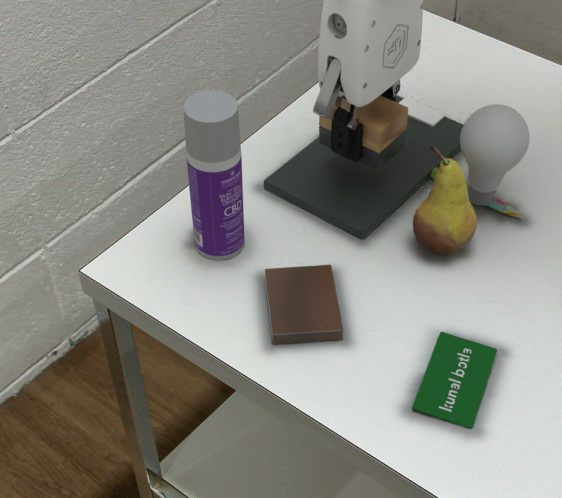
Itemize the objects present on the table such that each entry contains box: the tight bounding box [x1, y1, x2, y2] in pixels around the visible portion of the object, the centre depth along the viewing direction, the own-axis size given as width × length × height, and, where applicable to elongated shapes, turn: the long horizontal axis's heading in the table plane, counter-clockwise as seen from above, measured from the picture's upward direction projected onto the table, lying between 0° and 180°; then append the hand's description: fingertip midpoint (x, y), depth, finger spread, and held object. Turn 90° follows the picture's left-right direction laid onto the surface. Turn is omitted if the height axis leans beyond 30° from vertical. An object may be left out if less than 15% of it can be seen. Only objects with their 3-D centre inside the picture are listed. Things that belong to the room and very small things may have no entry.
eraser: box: [318, 96, 408, 170], centre depth 89 cm, size 4×7×4 cm, turn 51°
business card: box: [411, 331, 498, 429], centre depth 78 cm, size 9×1×5 cm
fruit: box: [412, 146, 478, 255], centre depth 83 cm, size 6×6×12 cm
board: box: [263, 94, 464, 241], centre depth 95 cm, size 20×12×1 cm, turn 141°
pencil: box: [430, 167, 525, 220], centre depth 93 cm, size 1×1×18 cm
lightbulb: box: [460, 103, 530, 206], centre depth 87 cm, size 6×6×11 cm
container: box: [182, 89, 246, 261], centre depth 82 cm, size 5×5×15 cm
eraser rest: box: [264, 264, 344, 345], centre depth 82 cm, size 6×8×1 cm
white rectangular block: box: [399, 96, 446, 127], centre depth 99 cm, size 2×5×1 cm, turn 52°
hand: (362, 140), depth 91 cm, fingers closed on eraser, 4 cm apart
